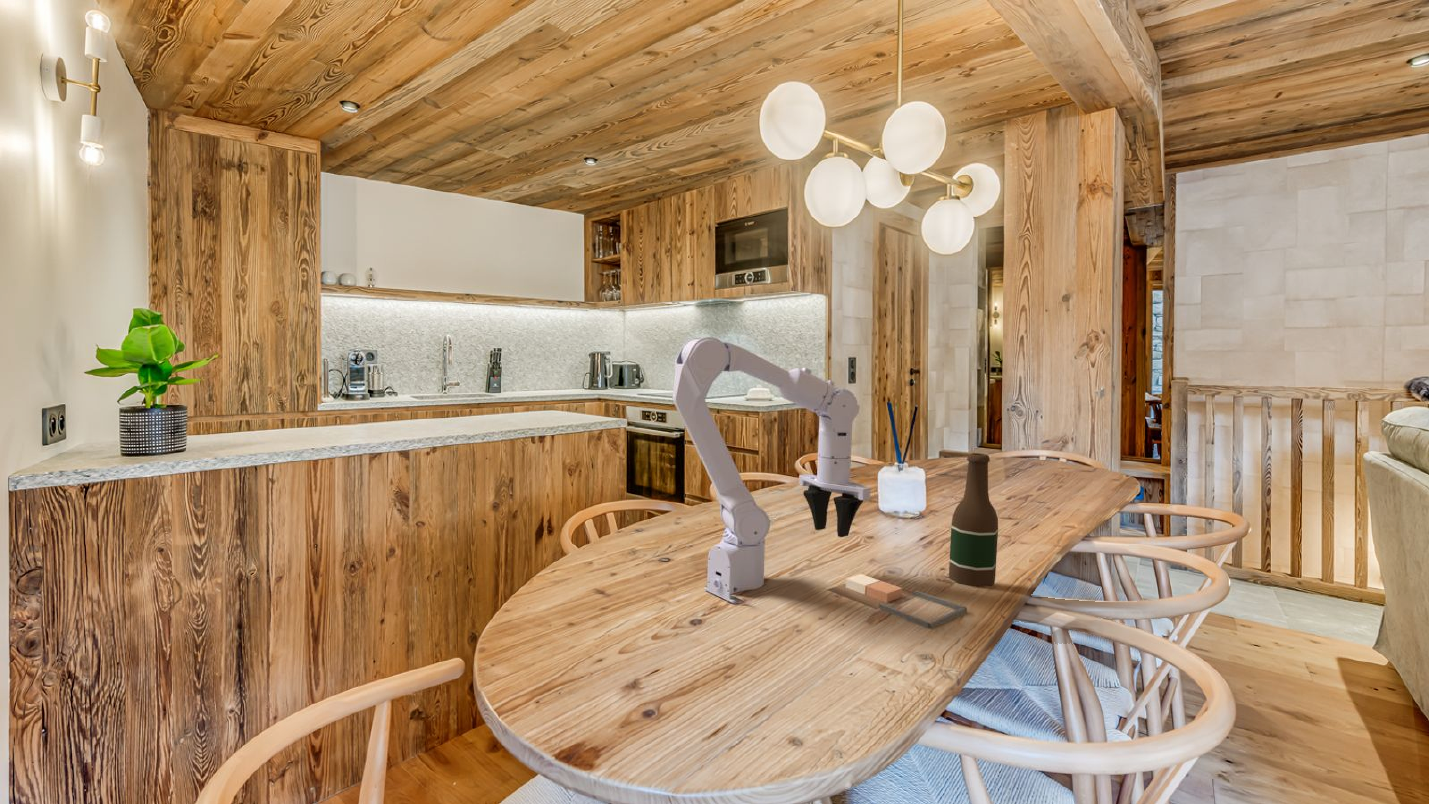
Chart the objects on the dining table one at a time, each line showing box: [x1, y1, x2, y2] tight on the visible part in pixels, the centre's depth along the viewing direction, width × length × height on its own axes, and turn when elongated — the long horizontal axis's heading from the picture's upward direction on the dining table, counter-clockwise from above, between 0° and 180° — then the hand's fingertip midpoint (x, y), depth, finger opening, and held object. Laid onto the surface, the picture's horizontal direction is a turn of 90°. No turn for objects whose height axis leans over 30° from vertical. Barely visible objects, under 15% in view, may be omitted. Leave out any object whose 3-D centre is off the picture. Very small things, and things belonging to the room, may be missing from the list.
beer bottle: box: [948, 452, 999, 588], centre depth 113 cm, size 8×8×24 cm
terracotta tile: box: [866, 580, 903, 603], centre depth 105 cm, size 4×4×2 cm
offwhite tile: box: [845, 573, 881, 594], centre depth 108 cm, size 4×4×2 cm
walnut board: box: [826, 582, 914, 610], centre depth 107 cm, size 11×10×2 cm
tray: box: [878, 590, 968, 629], centre depth 100 cm, size 10×9×2 cm
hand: (831, 532), depth 113 cm, fingers open, 5 cm apart
